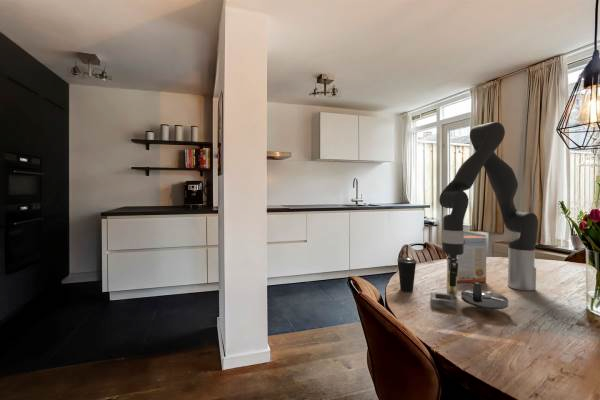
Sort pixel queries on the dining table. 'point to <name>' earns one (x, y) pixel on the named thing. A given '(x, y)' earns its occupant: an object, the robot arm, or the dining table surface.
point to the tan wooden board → (463, 308)
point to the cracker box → (472, 260)
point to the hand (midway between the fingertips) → (452, 284)
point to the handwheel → (484, 298)
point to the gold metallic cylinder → (450, 288)
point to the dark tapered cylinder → (406, 272)
